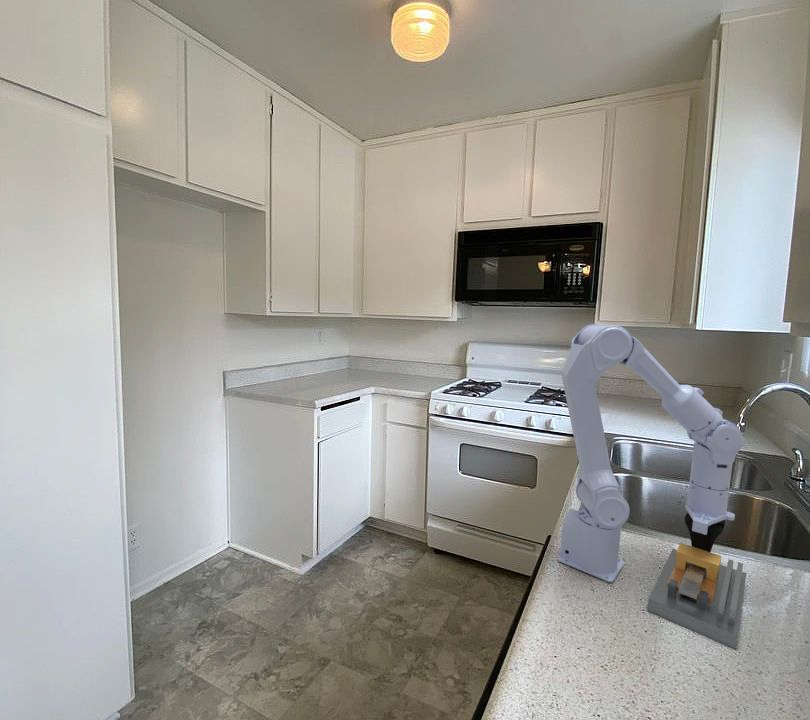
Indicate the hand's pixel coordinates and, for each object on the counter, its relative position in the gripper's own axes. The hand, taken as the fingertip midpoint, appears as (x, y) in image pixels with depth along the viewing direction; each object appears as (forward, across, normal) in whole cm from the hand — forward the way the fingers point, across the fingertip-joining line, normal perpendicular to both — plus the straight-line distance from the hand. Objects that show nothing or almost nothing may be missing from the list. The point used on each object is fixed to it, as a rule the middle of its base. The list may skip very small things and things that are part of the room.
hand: (700, 556), depth 76 cm
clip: (+1, -4, 0) cm, 4 cm away
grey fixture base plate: (+3, -8, -1) cm, 8 cm away
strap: (+1, -8, 0) cm, 8 cm away
